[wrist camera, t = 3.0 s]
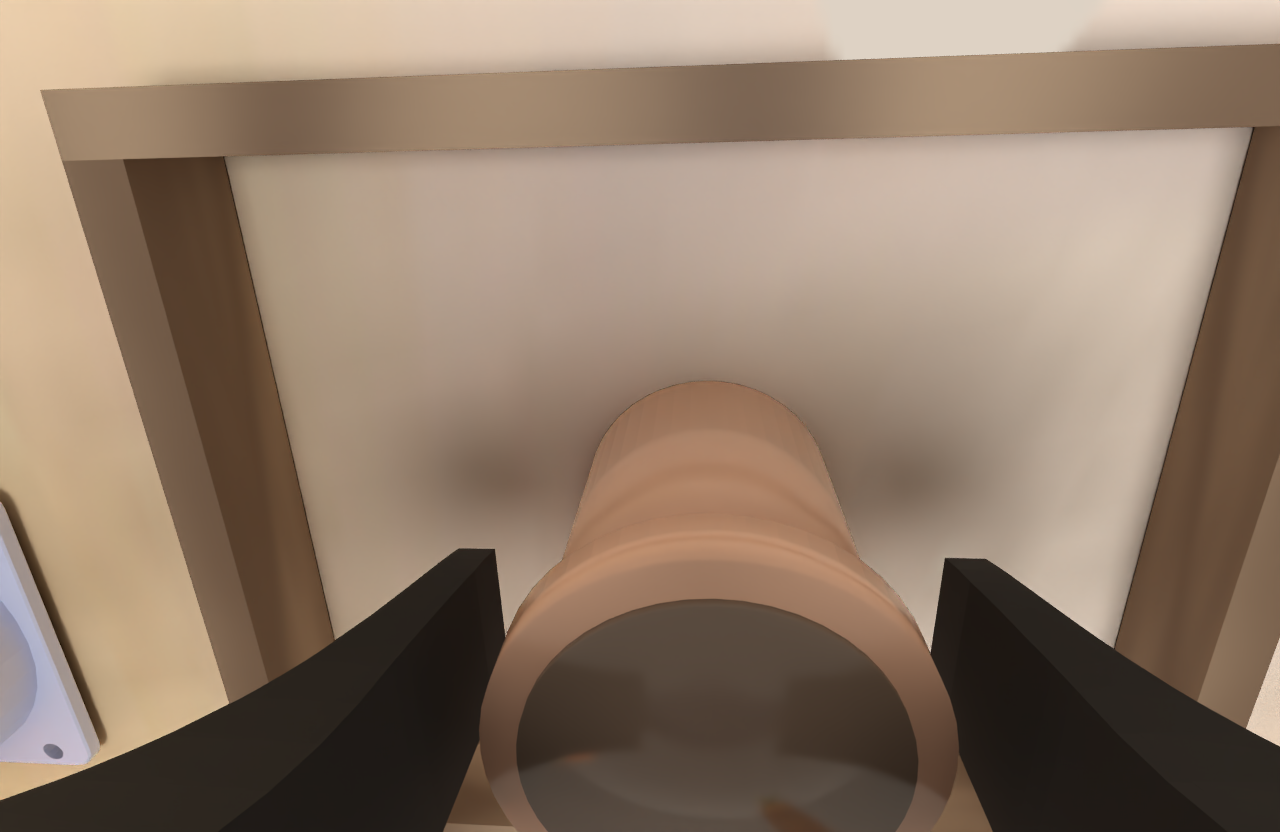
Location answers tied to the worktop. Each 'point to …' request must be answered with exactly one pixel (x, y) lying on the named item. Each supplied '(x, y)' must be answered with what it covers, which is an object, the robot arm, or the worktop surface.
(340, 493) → the worktop surface
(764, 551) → the terracotta pot
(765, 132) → the cold frame
